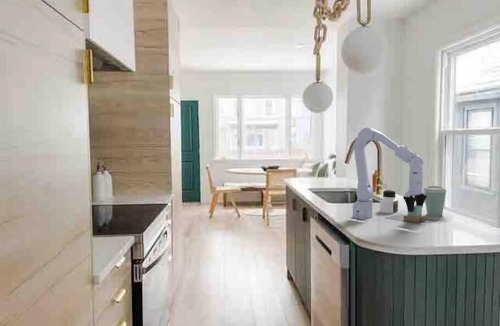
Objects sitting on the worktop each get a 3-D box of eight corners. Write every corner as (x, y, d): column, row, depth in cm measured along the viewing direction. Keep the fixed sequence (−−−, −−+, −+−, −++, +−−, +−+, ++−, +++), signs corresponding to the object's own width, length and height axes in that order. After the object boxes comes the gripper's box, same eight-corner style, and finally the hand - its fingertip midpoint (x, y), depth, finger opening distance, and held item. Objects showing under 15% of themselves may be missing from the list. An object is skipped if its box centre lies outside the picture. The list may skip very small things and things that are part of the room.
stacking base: (423, 227, 184) (423, 219, 184) (383, 219, 199) (383, 212, 199) (438, 222, 193) (439, 215, 193) (399, 216, 208) (399, 209, 208)
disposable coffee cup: (447, 219, 201) (448, 188, 200) (422, 217, 205) (423, 187, 204) (444, 215, 211) (445, 185, 210) (421, 214, 215) (422, 185, 214)
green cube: (416, 216, 189) (416, 207, 189) (407, 215, 193) (407, 205, 192) (421, 215, 192) (421, 205, 192) (412, 214, 196) (412, 204, 195)
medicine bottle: (393, 215, 211) (393, 191, 211) (379, 213, 216) (380, 190, 215) (397, 213, 217) (398, 190, 216) (384, 211, 221) (384, 189, 221)
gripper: (415, 183, 184) (414, 214, 185) (432, 181, 193) (431, 210, 194) (401, 182, 189) (400, 211, 190) (417, 180, 198) (416, 208, 199)
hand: (414, 211), depth 192 cm, fingers open, 7 cm apart
